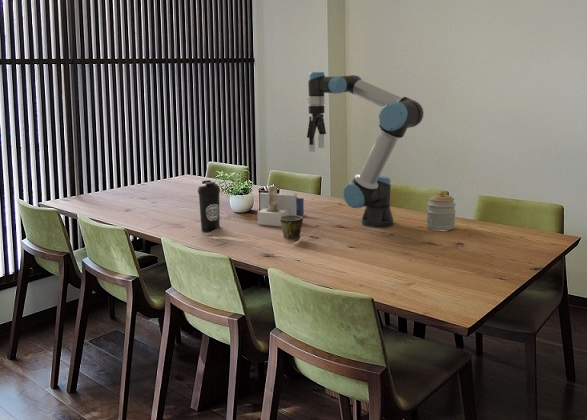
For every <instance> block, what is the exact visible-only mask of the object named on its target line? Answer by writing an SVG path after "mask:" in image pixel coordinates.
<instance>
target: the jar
mask: <svg viewBox="0 0 587 420" xmlns="http://www.w3.org/2000/svg"><path fill="white" fill-rule="evenodd" d="M454 200H455V198H454V197H452V196H451V195H449V194H446V193H445V192H444V191H443V190H442V191H441V190H440V191H439V193H438V194H432V195H431V196H430V197H429V198H428V202H427V203H426V205H428V206H427V209H426V223H425V224H426V229H428V228H429V229H433V230H450V229H453V228H454V229H455V227H456V223H455V222H456V221H455V218H456V209H455V207H456V206H457V203H456V202H454ZM429 229H428V230H429ZM454 229H453V230H454ZM433 230H432V231H433Z"/></svg>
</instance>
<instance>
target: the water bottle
mask: <svg viewBox="0 0 587 420" xmlns="http://www.w3.org/2000/svg"><path fill="white" fill-rule="evenodd" d="M201 183H202V184H201V185H199V187H198V188H197V193H198V201H199V214H200V226H201V232H203V233H211V232H213V231H215V230H217V229H220V228H221V226H220V224H221V223H220V222H221V221H220V220H221V219H220V218H221V217H220V215H221V214H220V194H221V187H220V186H219V185H218V184H216V182H215V181H212V180H207V179H206V180H202V181H201Z"/></svg>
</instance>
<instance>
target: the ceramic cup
mask: <svg viewBox="0 0 587 420" xmlns="http://www.w3.org/2000/svg"><path fill="white" fill-rule="evenodd" d="M280 221H281V226H280V227H281V229H282V235H283V238H284V239H288V240H294V241H293V242H298V241H299V240H300V237H301V236H300V235H301V231H302V230H301V229H302V227H303V226H302V225H303V221H304V217H303V216H299V215H287V216H282V217H281V218H280ZM295 239H296V240H295Z"/></svg>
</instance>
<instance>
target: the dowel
mask: <svg viewBox="0 0 587 420" xmlns="http://www.w3.org/2000/svg"><path fill="white" fill-rule="evenodd" d="M277 189H278V188H277V185H269V186H267V190H268V191H267V193H268V200H269V212H277V194H278V190H277Z"/></svg>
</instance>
